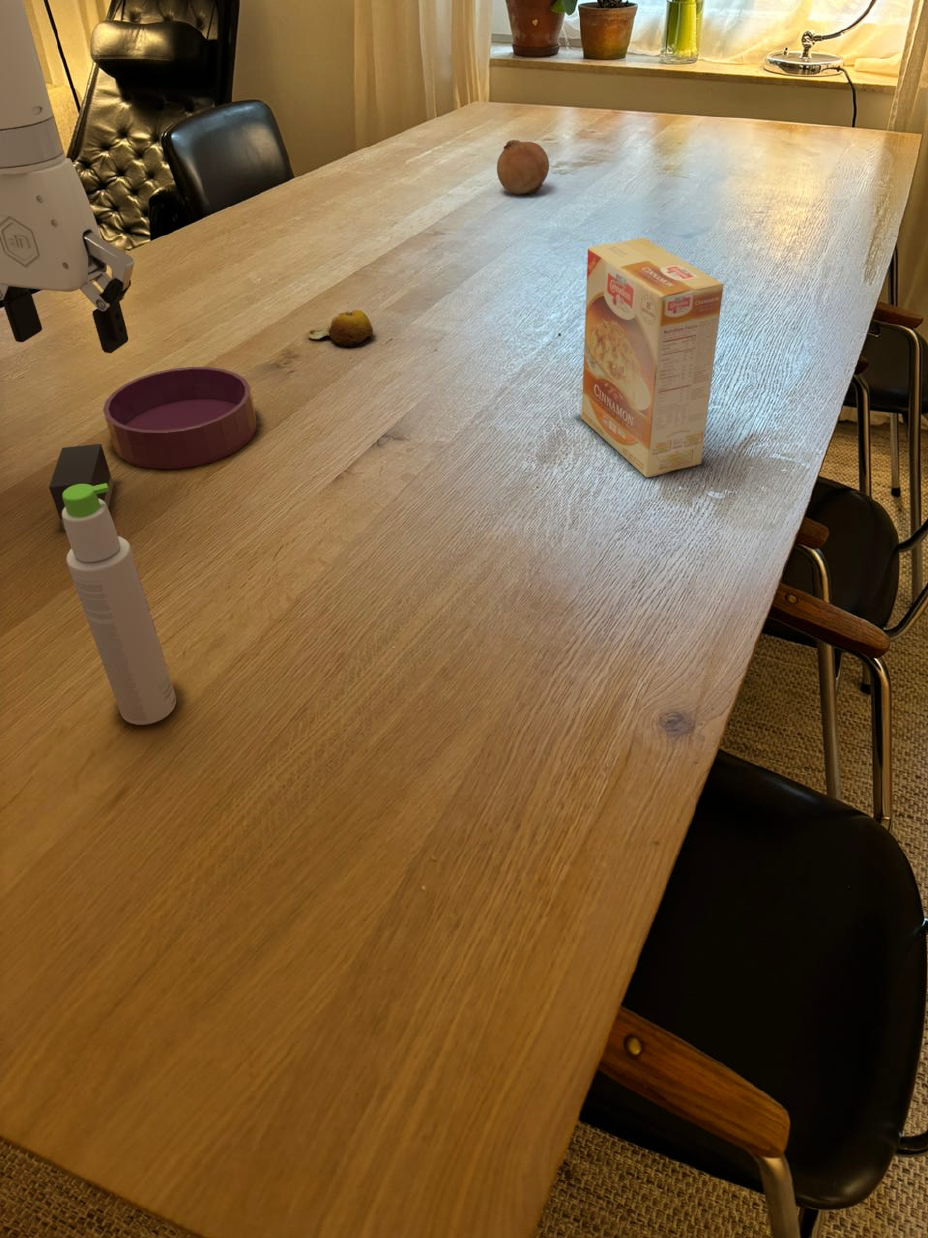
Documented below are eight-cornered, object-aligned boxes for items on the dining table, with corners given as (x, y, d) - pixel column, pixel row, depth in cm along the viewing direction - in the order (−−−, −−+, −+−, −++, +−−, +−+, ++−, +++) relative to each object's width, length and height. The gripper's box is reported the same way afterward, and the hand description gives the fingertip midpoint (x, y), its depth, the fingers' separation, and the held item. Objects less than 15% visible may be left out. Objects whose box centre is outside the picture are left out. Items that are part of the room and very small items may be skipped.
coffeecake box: (578, 418, 114) (585, 246, 101) (633, 405, 116) (646, 235, 103) (644, 479, 103) (660, 295, 91) (703, 464, 105) (727, 281, 92)
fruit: (353, 319, 139) (350, 293, 136) (389, 336, 134) (387, 309, 131) (304, 337, 135) (300, 310, 132) (339, 355, 130) (336, 328, 127)
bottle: (172, 723, 77) (104, 506, 65) (115, 728, 77) (36, 511, 65) (180, 685, 81) (117, 472, 68) (126, 689, 81) (52, 476, 68)
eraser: (63, 529, 100) (48, 487, 96) (75, 488, 106) (61, 447, 103) (104, 525, 100) (90, 482, 97) (113, 484, 106) (101, 443, 103)
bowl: (105, 476, 108) (94, 439, 105) (122, 408, 120) (112, 374, 117) (256, 460, 109) (248, 423, 106) (257, 395, 122) (251, 360, 119)
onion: (502, 210, 184) (477, 158, 180) (536, 184, 187) (512, 133, 183) (533, 201, 177) (507, 147, 172) (568, 175, 180) (544, 120, 175)
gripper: (-103, 151, 82) (-30, 348, 92) (72, 162, 77) (128, 368, 88) (-40, 128, 87) (22, 317, 98) (128, 137, 82) (174, 335, 93)
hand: (72, 341), depth 93 cm, fingers open, 9 cm apart
